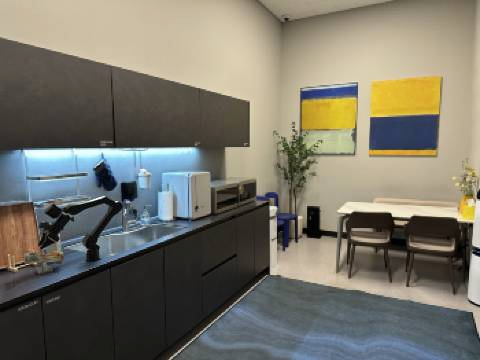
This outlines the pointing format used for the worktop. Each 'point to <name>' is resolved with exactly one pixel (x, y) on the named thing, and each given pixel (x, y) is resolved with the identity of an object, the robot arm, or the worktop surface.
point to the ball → (54, 253)
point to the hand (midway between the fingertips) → (39, 247)
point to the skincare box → (54, 247)
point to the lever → (42, 258)
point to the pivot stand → (44, 268)
